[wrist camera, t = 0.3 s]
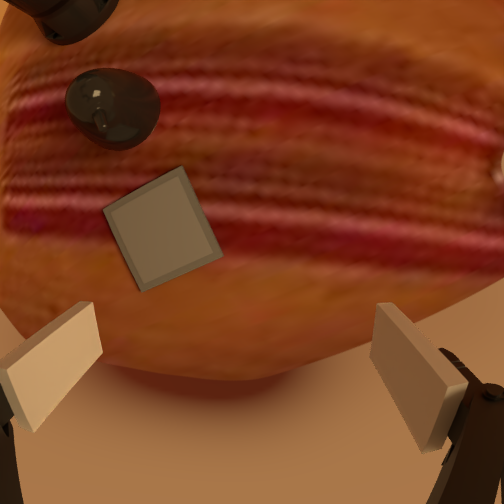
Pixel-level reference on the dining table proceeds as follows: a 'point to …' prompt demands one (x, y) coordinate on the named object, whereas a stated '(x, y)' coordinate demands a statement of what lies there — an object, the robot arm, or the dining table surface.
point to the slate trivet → (162, 230)
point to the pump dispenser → (113, 107)
